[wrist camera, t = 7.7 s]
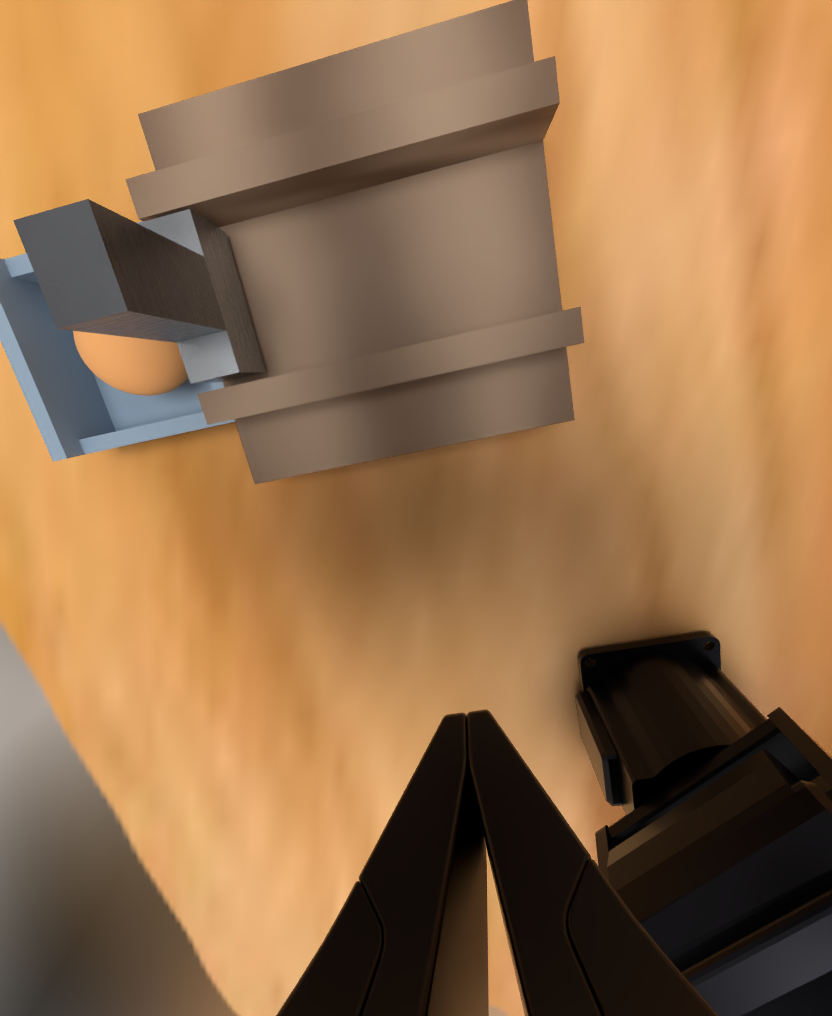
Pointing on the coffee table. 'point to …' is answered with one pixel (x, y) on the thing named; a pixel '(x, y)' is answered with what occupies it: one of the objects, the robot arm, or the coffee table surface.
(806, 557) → the coffee table surface
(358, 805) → the coffee table surface
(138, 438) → the light blue square tray
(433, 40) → the brown stepped block
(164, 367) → the ball
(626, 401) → the coffee table surface
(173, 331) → the gray stepped block
